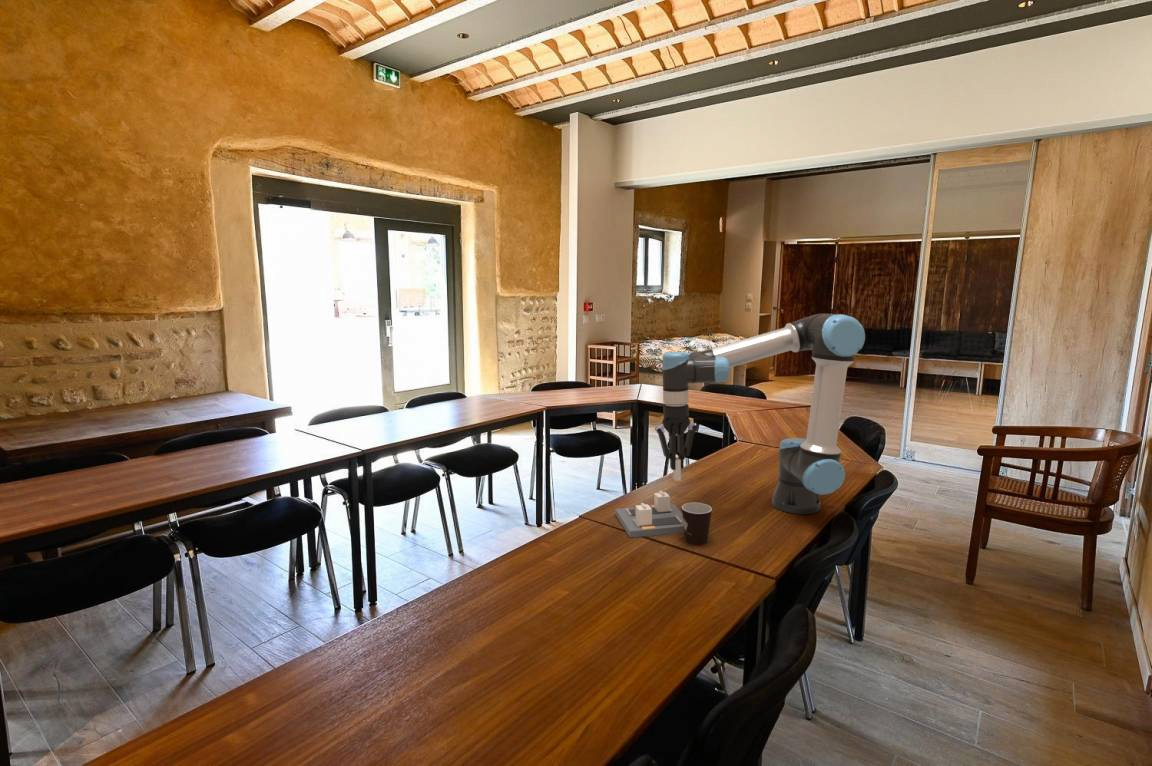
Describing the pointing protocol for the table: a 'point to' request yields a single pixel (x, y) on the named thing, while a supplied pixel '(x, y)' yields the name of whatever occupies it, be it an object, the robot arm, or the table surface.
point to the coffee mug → (696, 522)
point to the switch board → (660, 522)
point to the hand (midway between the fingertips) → (677, 479)
